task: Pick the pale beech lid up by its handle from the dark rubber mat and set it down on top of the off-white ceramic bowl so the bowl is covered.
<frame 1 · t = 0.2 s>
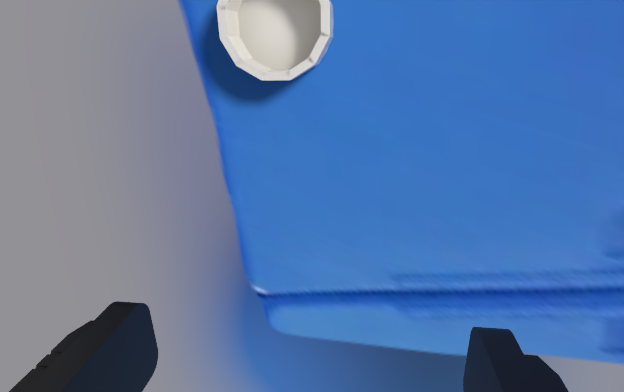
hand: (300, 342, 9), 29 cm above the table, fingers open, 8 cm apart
bowl: (283, 24, 34), on the table
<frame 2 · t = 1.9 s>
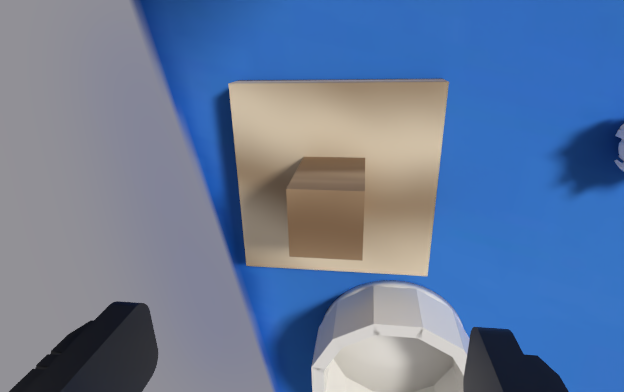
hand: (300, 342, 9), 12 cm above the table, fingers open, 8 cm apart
bowl: (390, 338, 24), on the table
lid: (336, 178, 20), resting on mat
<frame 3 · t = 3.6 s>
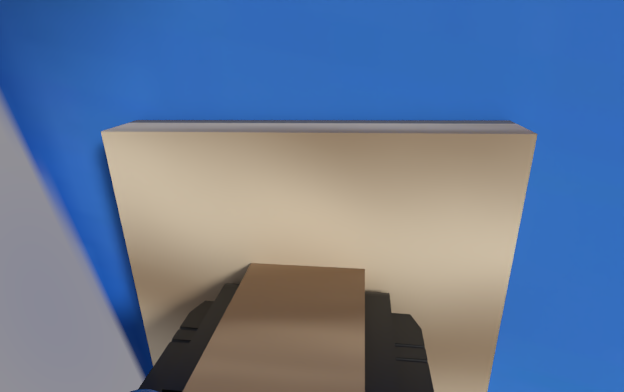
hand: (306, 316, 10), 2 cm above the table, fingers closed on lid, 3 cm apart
lid: (313, 287, 12), resting on mat, touching gripper
mat: (314, 280, 12), on the table
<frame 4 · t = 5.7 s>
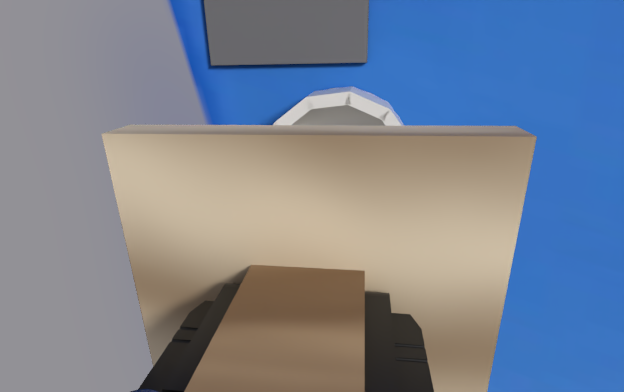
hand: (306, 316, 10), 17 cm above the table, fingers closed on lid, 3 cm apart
bowl: (342, 154, 26), on the table
lid: (313, 289, 12), point 16 cm above the table, touching gripper
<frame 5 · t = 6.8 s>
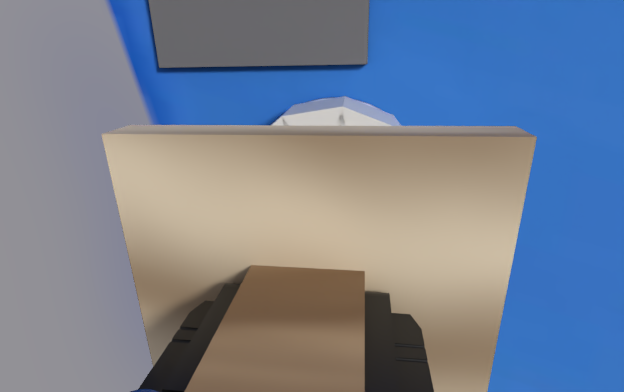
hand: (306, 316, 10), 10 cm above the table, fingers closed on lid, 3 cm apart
bowl: (334, 184, 20), on the table
lid: (313, 289, 12), point 9 cm above the table, touching gripper
when the fingers open (7 cm above the table, at t = 7.8 s): lid drops 1 cm, resting on bowl.
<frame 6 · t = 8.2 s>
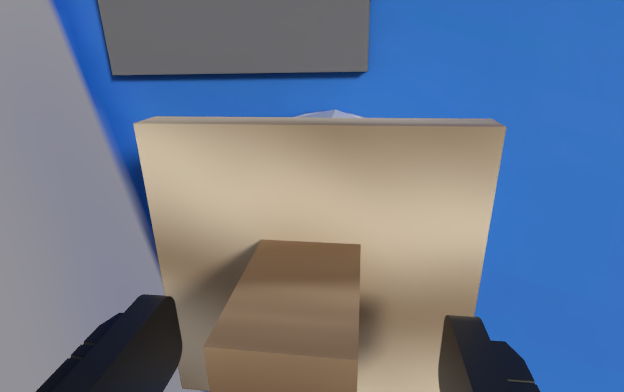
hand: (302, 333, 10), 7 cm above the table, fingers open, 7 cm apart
bowl: (328, 214, 17), on the table, touching lid
lid: (315, 264, 13), point 4 cm above the table, touching bowl
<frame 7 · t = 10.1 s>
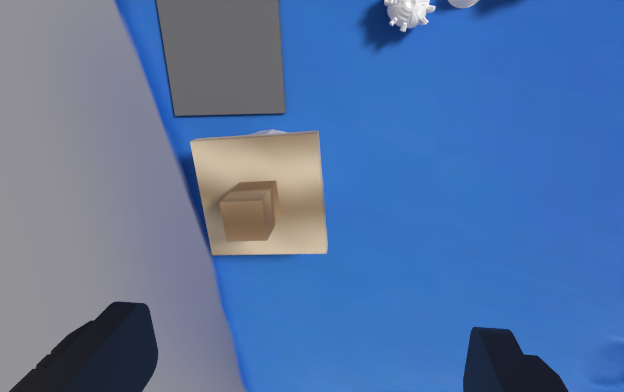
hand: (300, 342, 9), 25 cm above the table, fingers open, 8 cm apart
lid: (263, 194, 32), point 4 cm above the table, touching bowl
mat: (223, 53, 32), on the table
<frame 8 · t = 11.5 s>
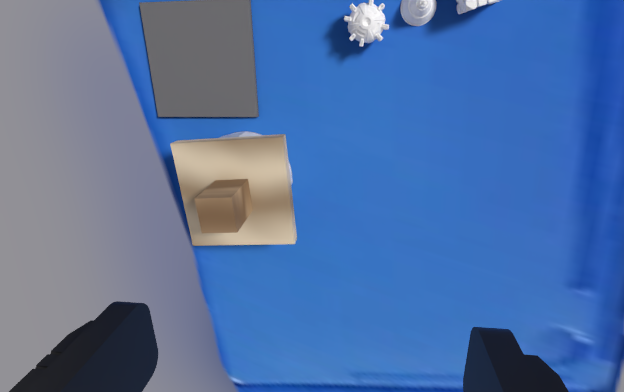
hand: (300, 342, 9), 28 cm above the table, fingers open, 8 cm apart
lid: (238, 190, 35), point 4 cm above the table, touching bowl
mat: (202, 61, 35), on the table
game pieces: (417, 7, 32), on the table
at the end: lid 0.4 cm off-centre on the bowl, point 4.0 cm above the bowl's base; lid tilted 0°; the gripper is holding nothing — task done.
